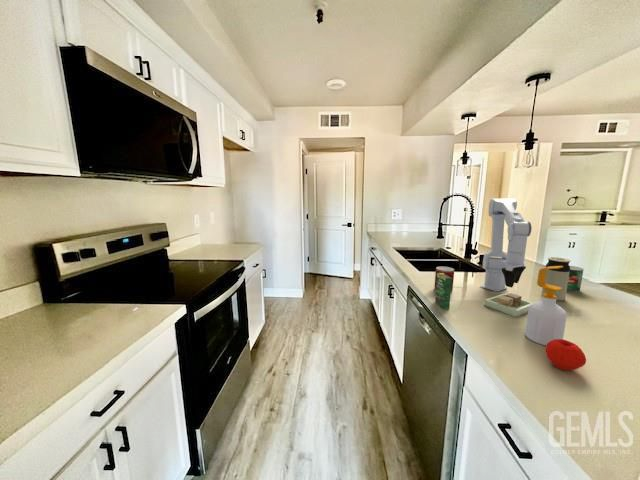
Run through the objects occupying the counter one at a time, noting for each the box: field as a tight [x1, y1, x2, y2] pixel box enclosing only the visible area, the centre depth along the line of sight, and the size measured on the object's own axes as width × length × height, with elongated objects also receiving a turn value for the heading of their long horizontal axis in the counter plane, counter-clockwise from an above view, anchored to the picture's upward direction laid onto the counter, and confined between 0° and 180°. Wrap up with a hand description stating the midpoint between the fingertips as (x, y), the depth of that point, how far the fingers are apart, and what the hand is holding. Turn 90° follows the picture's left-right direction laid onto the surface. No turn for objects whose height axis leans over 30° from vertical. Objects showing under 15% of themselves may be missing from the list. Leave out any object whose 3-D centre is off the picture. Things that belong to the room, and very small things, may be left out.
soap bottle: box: [524, 266, 568, 346], centre depth 82 cm, size 9×9×25 cm
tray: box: [483, 293, 533, 318], centre depth 107 cm, size 14×12×3 cm
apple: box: [544, 338, 587, 372], centre depth 70 cm, size 8×8×7 cm
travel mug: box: [541, 256, 572, 302], centre depth 116 cm, size 8×8×18 cm
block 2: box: [506, 292, 523, 307], centre depth 108 cm, size 4×4×4 cm
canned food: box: [434, 265, 455, 293], centre depth 126 cm, size 8×8×11 cm
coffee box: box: [434, 273, 452, 310], centre depth 109 cm, size 8×3×13 cm, turn 0°
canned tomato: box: [566, 265, 584, 293], centre depth 127 cm, size 8×8×11 cm
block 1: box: [497, 296, 513, 308], centre depth 106 cm, size 4×4×4 cm
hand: (511, 284), depth 106 cm, fingers open, 7 cm apart
